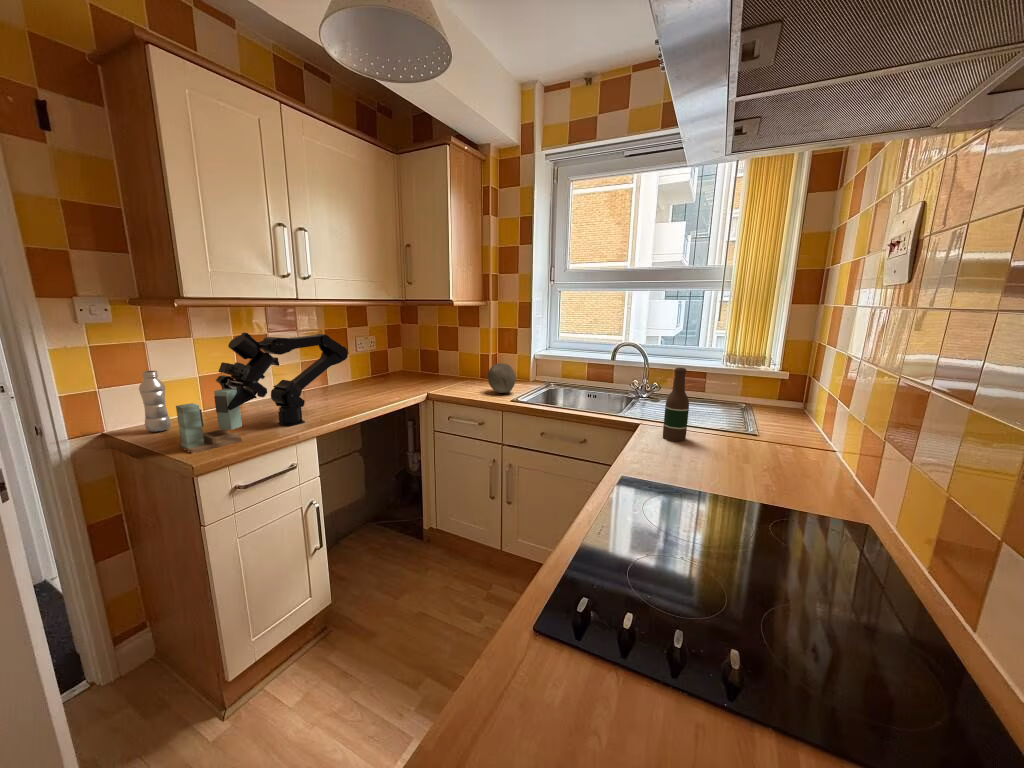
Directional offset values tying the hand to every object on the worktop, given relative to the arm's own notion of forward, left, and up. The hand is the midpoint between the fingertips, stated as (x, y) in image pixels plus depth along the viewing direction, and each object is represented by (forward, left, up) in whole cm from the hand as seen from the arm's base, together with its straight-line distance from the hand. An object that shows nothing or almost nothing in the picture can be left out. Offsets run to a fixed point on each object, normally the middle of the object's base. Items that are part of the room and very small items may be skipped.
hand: (223, 408), depth 126 cm
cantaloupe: (-109, +30, -11) cm, 113 cm away
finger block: (-1, 0, -7) cm, 7 cm away
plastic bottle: (+8, -28, -11) cm, 31 cm away
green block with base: (+4, 0, -10) cm, 11 cm away
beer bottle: (-86, +116, -11) cm, 145 cm away
